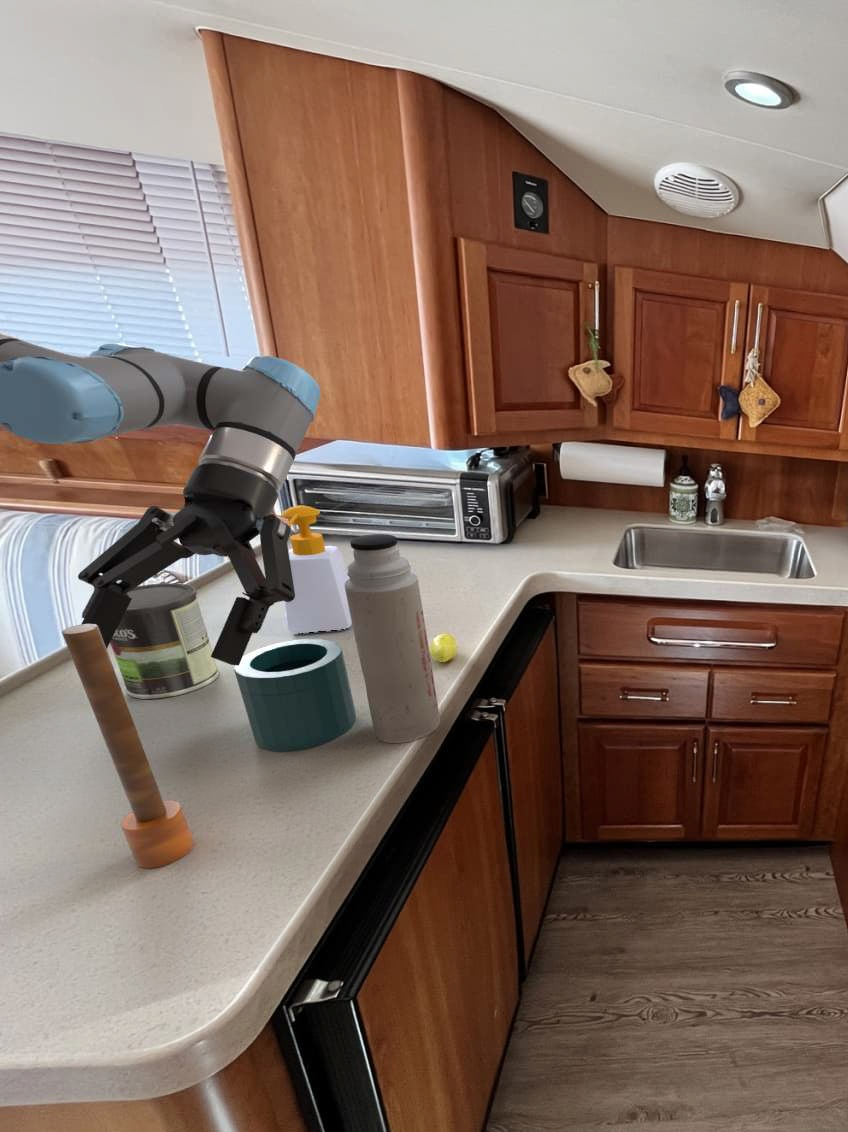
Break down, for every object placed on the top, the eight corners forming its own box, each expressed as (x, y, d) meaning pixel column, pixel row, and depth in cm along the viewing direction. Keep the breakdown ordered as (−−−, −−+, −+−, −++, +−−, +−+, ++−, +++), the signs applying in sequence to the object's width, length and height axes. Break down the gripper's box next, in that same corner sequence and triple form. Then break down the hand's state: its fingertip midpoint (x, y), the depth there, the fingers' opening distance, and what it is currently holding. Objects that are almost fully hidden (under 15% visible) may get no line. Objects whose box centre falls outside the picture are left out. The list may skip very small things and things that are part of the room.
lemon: (460, 646, 113) (458, 626, 111) (456, 667, 106) (453, 646, 105) (433, 648, 111) (430, 628, 110) (428, 670, 104) (424, 649, 103)
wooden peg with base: (129, 874, 64) (33, 642, 54) (143, 845, 67) (55, 622, 57) (188, 860, 66) (105, 634, 56) (198, 832, 69) (122, 615, 59)
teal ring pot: (247, 760, 81) (225, 684, 77) (262, 715, 89) (243, 646, 85) (353, 739, 86) (338, 668, 82) (358, 699, 95) (344, 633, 91)
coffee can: (153, 706, 89) (120, 615, 84) (110, 688, 93) (77, 599, 87) (236, 675, 98) (211, 591, 93) (195, 659, 102) (169, 578, 96)
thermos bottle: (445, 709, 94) (417, 528, 84) (433, 740, 87) (401, 547, 77) (384, 714, 92) (348, 529, 82) (366, 746, 85) (324, 548, 75)
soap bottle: (279, 648, 107) (246, 521, 99) (300, 616, 119) (272, 500, 110) (347, 642, 111) (321, 519, 103) (360, 611, 123) (338, 499, 114)
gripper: (369, 504, 76) (306, 675, 68) (155, 489, 75) (65, 659, 67) (330, 468, 69) (255, 653, 61) (94, 450, 68) (-15, 635, 60)
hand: (155, 657), depth 64 cm, fingers open, 13 cm apart
